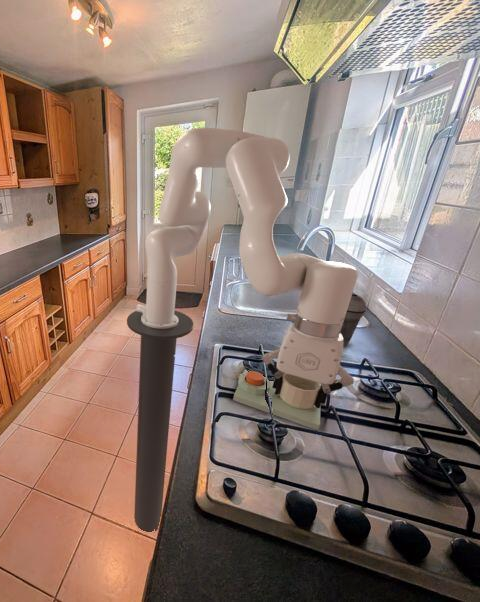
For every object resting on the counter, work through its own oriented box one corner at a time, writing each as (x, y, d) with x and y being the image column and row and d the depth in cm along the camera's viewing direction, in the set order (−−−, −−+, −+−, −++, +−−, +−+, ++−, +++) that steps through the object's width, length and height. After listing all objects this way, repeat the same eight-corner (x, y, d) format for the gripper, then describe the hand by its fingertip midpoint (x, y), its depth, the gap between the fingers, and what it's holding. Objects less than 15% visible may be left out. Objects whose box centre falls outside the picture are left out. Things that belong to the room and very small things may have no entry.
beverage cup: (359, 349, 87) (382, 284, 79) (331, 348, 88) (351, 283, 80) (344, 337, 93) (364, 276, 86) (318, 336, 94) (336, 275, 87)
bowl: (276, 402, 65) (281, 383, 64) (280, 385, 71) (284, 368, 69) (314, 415, 62) (320, 395, 60) (315, 396, 67) (320, 378, 65)
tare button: (244, 383, 70) (245, 376, 69) (247, 375, 73) (248, 369, 72) (261, 388, 68) (262, 382, 67) (264, 380, 71) (265, 374, 70)
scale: (231, 399, 69) (233, 389, 67) (243, 373, 78) (244, 363, 76) (318, 430, 60) (322, 419, 59) (319, 397, 69) (322, 386, 68)
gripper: (264, 321, 61) (250, 392, 68) (377, 345, 52) (347, 425, 58) (269, 309, 67) (256, 375, 73) (372, 328, 57) (345, 402, 64)
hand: (296, 397), depth 66 cm, fingers closed on bowl, 6 cm apart
